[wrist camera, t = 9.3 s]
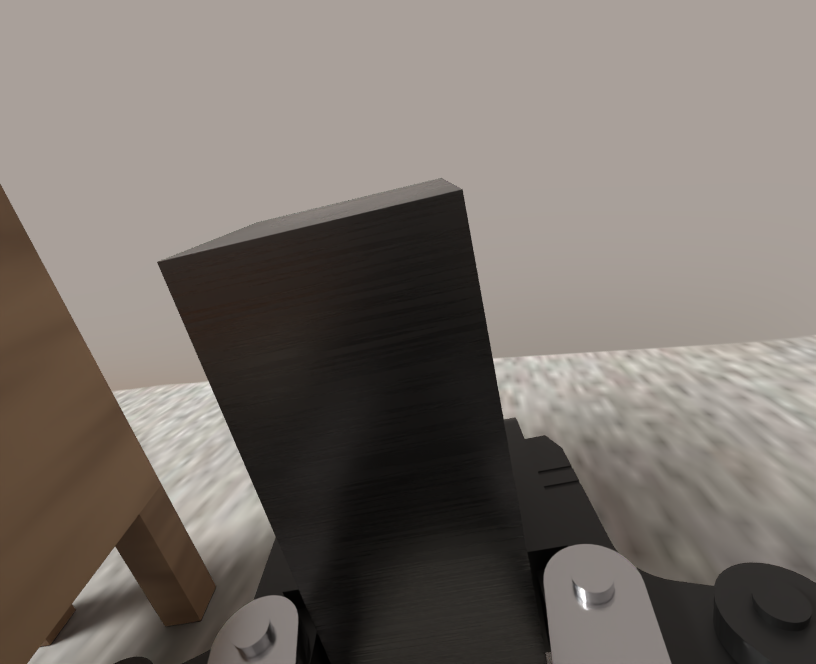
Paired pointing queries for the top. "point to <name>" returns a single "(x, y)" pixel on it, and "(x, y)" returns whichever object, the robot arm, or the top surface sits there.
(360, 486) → the grey l-shaped bracket
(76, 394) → the walnut cabinet
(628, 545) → the top surface
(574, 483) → the robot arm
